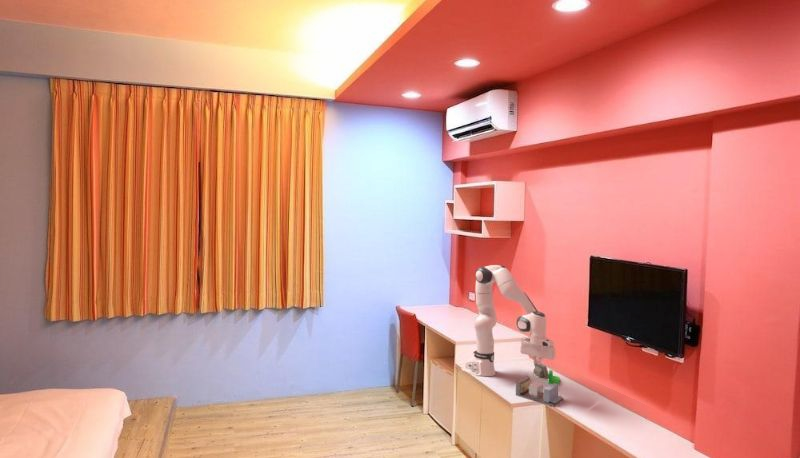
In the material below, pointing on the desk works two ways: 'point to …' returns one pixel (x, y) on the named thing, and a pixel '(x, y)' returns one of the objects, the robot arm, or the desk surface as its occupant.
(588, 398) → the desk surface
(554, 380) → the mechanical part
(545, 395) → the free jaw
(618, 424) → the desk surface
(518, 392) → the vise base
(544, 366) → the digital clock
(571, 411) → the desk surface
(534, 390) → the steel block
